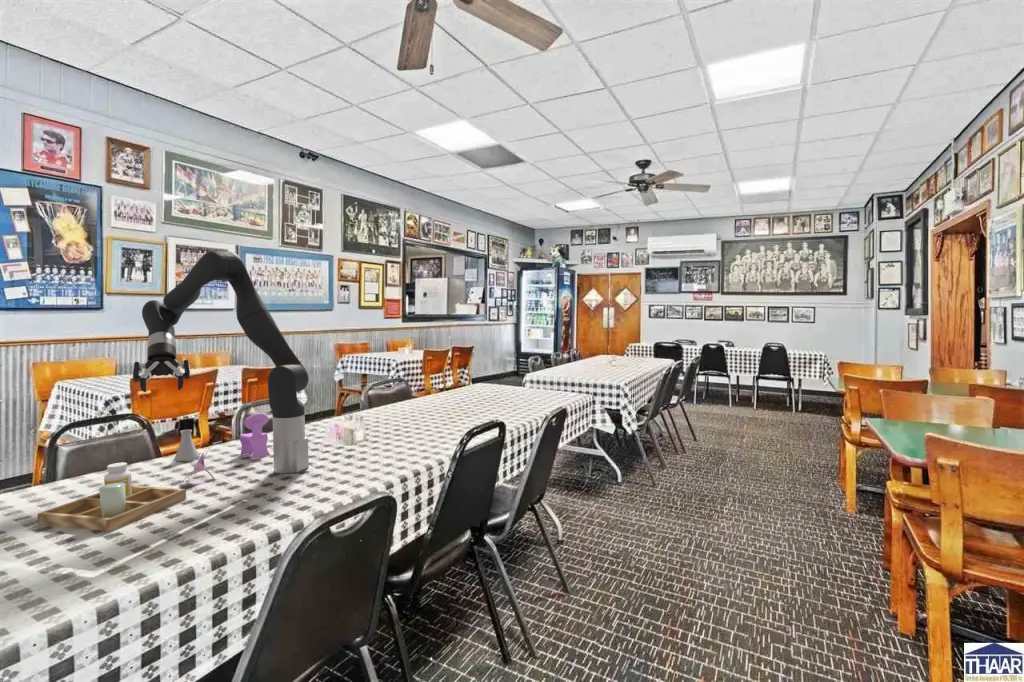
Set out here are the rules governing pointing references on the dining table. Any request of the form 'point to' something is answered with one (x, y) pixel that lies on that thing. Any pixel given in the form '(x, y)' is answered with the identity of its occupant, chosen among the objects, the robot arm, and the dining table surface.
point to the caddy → (89, 516)
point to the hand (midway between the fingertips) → (162, 389)
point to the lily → (199, 466)
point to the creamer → (112, 499)
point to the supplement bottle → (119, 476)
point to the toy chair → (255, 436)
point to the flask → (186, 448)
